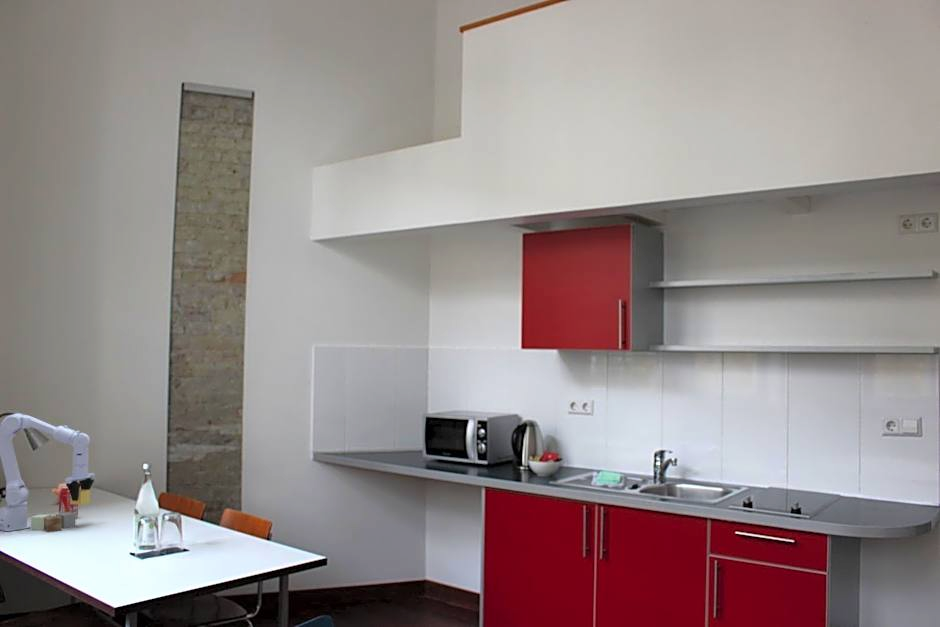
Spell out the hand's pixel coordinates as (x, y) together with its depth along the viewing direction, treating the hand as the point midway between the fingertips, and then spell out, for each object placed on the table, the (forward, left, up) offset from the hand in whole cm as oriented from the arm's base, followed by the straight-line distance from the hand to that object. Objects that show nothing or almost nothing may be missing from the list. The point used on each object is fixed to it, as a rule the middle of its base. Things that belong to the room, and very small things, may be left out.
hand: (79, 499), depth 345 cm
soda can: (+4, +17, -11) cm, 21 cm away
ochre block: (0, 0, -2) cm, 2 cm away
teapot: (+20, +51, -11) cm, 56 cm away
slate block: (-4, +3, -10) cm, 12 cm away
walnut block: (-10, 0, -10) cm, 15 cm away
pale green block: (-12, +6, -10) cm, 17 cm away
